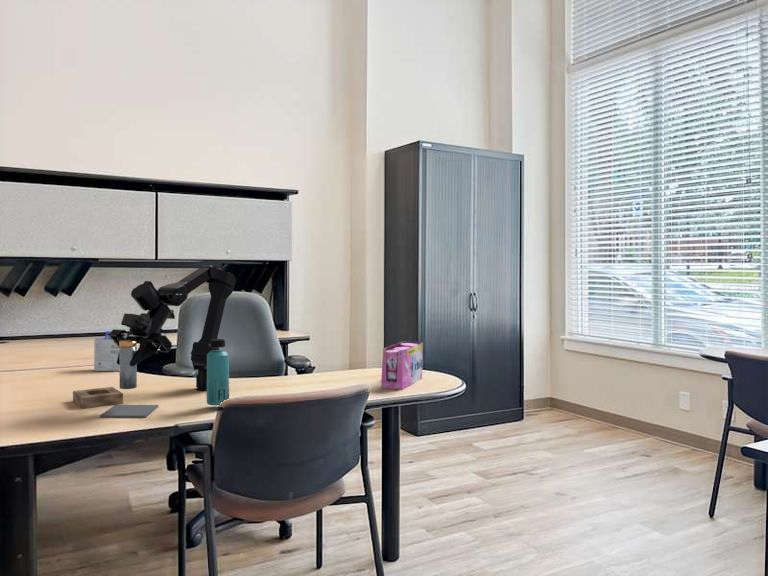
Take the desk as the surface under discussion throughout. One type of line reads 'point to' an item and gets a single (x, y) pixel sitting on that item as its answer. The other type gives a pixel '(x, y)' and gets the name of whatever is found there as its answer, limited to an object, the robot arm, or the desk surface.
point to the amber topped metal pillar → (127, 364)
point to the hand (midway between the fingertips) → (124, 364)
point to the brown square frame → (97, 397)
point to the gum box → (402, 364)
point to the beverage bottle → (217, 374)
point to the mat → (129, 411)
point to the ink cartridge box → (105, 354)
